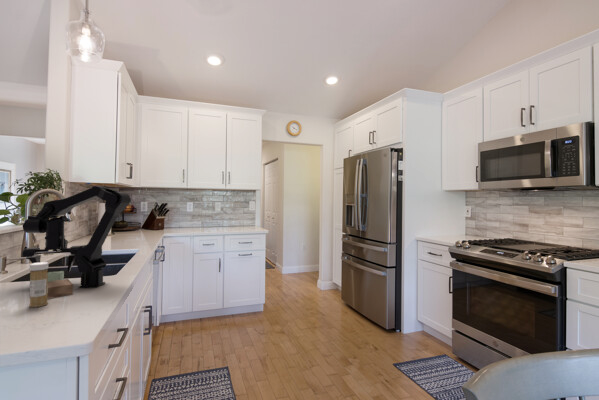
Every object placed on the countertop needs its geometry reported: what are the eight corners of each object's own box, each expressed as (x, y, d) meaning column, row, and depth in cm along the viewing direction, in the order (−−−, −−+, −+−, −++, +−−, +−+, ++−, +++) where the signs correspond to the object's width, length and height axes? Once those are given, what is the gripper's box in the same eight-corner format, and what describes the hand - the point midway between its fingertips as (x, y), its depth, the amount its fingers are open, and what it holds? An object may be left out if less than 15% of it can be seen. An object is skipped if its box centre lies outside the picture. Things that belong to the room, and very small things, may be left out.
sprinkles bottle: (49, 302, 101) (50, 261, 101) (45, 306, 97) (46, 263, 97) (31, 304, 99) (32, 262, 99) (26, 308, 95) (27, 265, 95)
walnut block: (67, 289, 117) (67, 278, 117) (72, 295, 110) (72, 284, 110) (32, 294, 110) (33, 283, 110) (36, 301, 103) (36, 289, 103)
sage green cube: (63, 283, 124) (63, 271, 124) (59, 286, 119) (60, 273, 119) (48, 284, 122) (48, 272, 122) (43, 288, 117) (44, 274, 117)
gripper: (87, 230, 132) (87, 267, 132) (32, 232, 124) (32, 270, 124) (81, 233, 122) (81, 272, 122) (21, 234, 114) (20, 277, 114)
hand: (54, 273), depth 121 cm, fingers open, 9 cm apart
